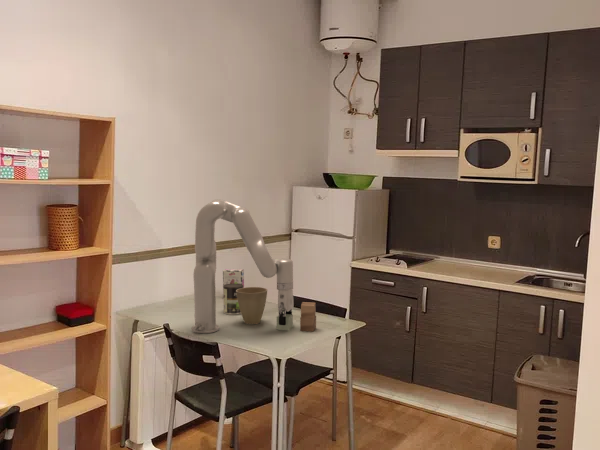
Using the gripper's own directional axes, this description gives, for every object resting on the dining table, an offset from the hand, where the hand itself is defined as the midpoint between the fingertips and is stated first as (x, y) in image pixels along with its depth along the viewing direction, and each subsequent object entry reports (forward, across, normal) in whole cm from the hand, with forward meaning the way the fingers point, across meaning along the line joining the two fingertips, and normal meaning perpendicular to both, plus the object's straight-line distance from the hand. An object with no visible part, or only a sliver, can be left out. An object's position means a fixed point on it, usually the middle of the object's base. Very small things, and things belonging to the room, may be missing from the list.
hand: (285, 322), depth 275 cm
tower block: (-3, +1, -11) cm, 11 cm away
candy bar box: (+3, +51, +46) cm, 69 cm away
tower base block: (+3, +1, -11) cm, 11 cm away
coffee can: (+3, +21, +34) cm, 40 cm away
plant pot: (+3, +5, +18) cm, 19 cm away
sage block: (+3, 0, 0) cm, 3 cm away
